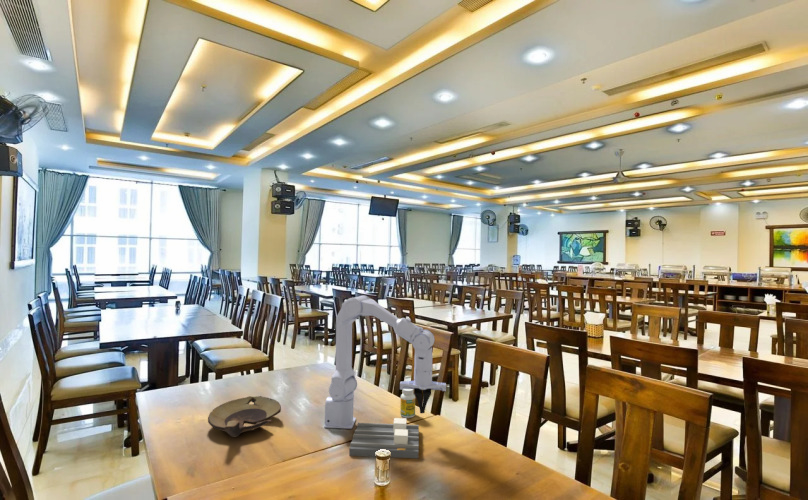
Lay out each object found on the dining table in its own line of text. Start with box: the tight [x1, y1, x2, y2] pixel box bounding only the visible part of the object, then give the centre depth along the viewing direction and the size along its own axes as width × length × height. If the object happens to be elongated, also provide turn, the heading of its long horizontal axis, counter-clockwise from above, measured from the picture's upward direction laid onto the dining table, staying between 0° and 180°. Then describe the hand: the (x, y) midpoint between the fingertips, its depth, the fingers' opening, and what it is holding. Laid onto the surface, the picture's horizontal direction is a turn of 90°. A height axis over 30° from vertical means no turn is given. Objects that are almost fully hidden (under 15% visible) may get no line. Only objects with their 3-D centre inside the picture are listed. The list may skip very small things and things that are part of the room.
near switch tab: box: [394, 429, 408, 444], centre depth 118 cm, size 4×4×3 cm
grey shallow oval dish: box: [207, 395, 282, 438], centre depth 131 cm, size 22×30×8 cm
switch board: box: [348, 422, 420, 459], centre depth 123 cm, size 20×17×3 cm
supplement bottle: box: [399, 389, 416, 419], centre depth 143 cm, size 5×5×10 cm
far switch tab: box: [392, 417, 408, 431], centre depth 126 cm, size 4×4×3 cm
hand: (422, 412), depth 126 cm, fingers closed
